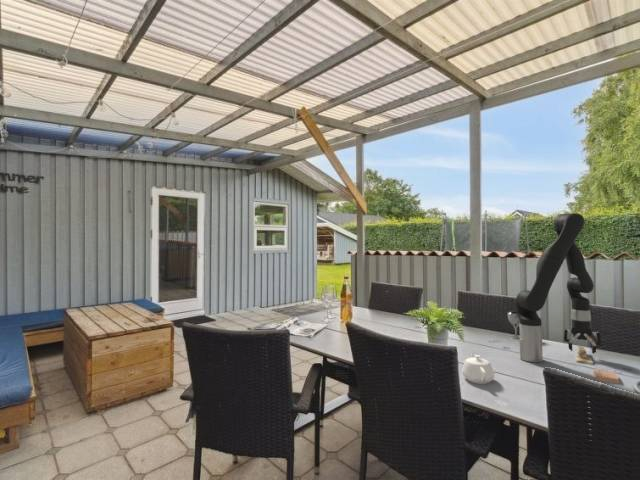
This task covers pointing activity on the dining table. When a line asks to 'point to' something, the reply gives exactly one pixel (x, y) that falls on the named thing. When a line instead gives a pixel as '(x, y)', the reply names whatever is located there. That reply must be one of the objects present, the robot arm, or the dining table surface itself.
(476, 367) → the teapot
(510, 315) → the wine glass
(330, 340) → the dining table surface
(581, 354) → the turner
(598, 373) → the tile
